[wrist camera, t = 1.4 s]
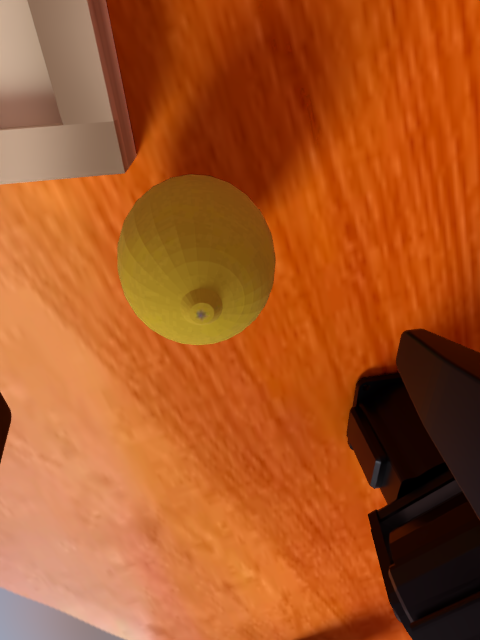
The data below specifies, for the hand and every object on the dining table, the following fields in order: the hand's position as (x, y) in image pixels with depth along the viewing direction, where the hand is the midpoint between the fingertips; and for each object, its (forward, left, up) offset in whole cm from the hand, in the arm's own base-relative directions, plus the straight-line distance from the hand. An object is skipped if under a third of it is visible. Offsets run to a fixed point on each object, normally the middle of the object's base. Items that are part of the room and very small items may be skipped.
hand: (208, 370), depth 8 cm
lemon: (0, 0, -10) cm, 10 cm away
